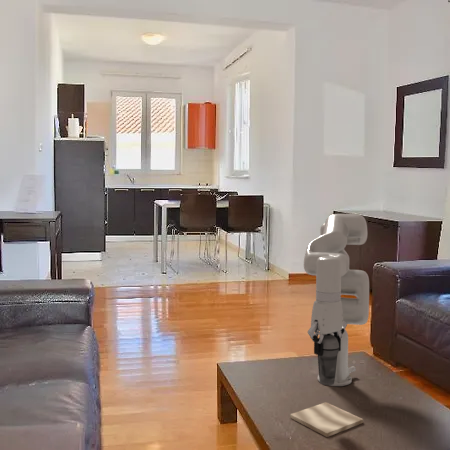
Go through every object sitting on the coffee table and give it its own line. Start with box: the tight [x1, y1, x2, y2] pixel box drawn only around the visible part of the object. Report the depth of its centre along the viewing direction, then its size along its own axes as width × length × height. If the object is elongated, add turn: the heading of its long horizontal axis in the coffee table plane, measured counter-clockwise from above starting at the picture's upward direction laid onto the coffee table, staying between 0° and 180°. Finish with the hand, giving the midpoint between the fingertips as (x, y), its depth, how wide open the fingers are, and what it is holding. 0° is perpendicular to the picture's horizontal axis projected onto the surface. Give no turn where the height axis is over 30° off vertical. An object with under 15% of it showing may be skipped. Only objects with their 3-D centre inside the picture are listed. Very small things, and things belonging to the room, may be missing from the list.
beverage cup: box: [317, 334, 339, 386], centre depth 175 cm, size 7×7×20 cm
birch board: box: [289, 401, 364, 438], centre depth 177 cm, size 16×16×1 cm
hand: (327, 352), depth 175 cm, fingers closed on beverage cup, 7 cm apart
